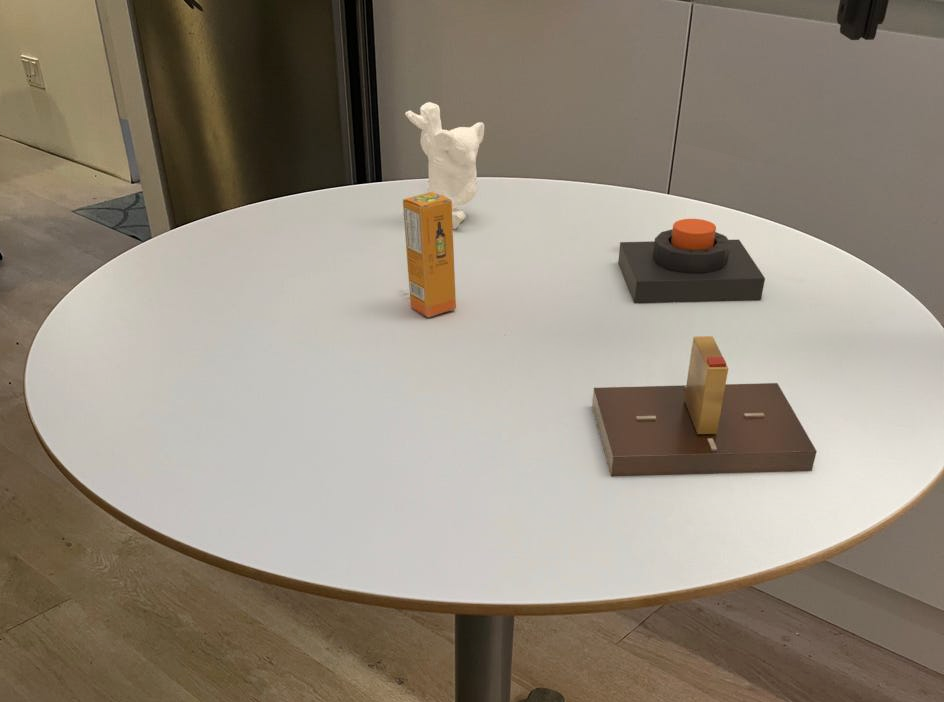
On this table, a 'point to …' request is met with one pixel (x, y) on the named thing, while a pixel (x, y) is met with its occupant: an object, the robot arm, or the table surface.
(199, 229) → the table surface
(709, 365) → the red-tipped yellow slab
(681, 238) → the button
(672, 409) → the plate
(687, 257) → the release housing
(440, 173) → the white animal figurine
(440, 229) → the supplement box
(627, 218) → the table surface
